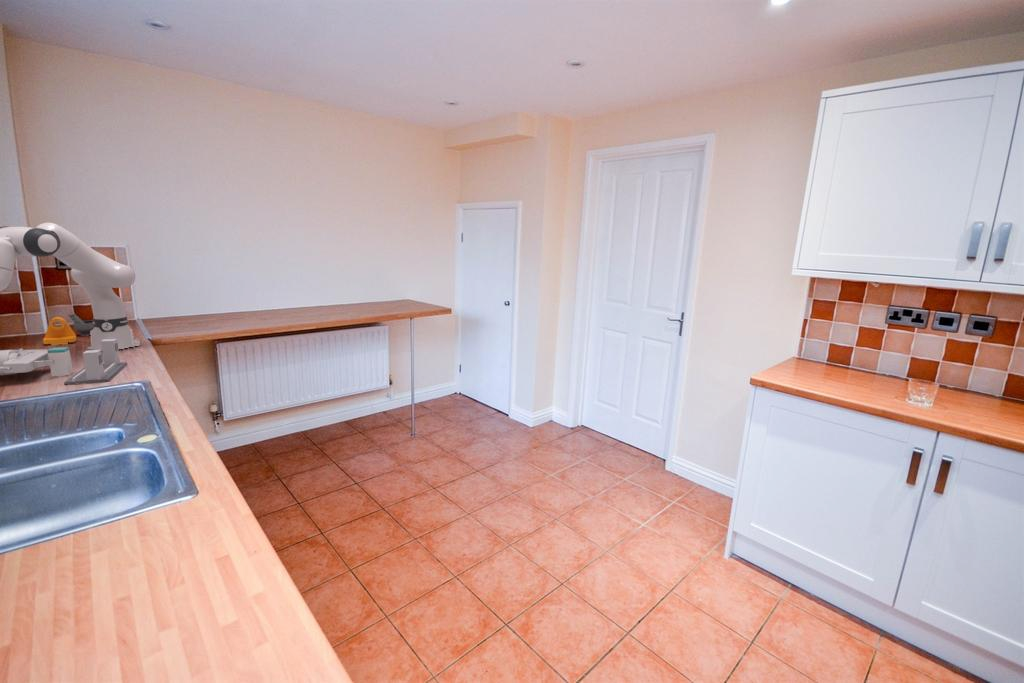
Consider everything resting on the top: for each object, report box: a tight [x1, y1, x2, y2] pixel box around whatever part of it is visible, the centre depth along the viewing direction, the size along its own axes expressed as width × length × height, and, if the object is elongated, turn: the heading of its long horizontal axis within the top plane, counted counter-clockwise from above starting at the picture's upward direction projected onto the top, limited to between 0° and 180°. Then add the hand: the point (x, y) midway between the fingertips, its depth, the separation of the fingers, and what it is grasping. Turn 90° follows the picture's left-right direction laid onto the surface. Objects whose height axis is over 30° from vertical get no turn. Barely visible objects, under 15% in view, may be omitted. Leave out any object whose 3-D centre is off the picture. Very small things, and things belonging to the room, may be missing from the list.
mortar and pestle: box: [67, 312, 94, 337], centre depth 234 cm, size 11×9×12 cm
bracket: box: [42, 316, 77, 346], centre depth 217 cm, size 11×7×12 cm, turn 128°
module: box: [46, 346, 74, 378], centre depth 172 cm, size 5×5×10 cm
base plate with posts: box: [63, 339, 128, 386], centre depth 174 cm, size 25×12×11 cm, turn 27°
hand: (58, 359), depth 172 cm, fingers open, 8 cm apart
